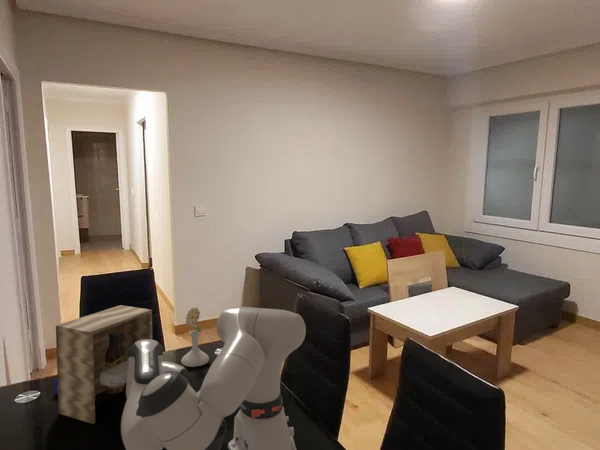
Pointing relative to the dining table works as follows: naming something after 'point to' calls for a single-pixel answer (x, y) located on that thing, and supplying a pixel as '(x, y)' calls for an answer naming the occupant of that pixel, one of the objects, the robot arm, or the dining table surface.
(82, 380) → the cubby
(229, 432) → the dining table surface
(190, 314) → the flower in vase
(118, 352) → the sauce bottle
